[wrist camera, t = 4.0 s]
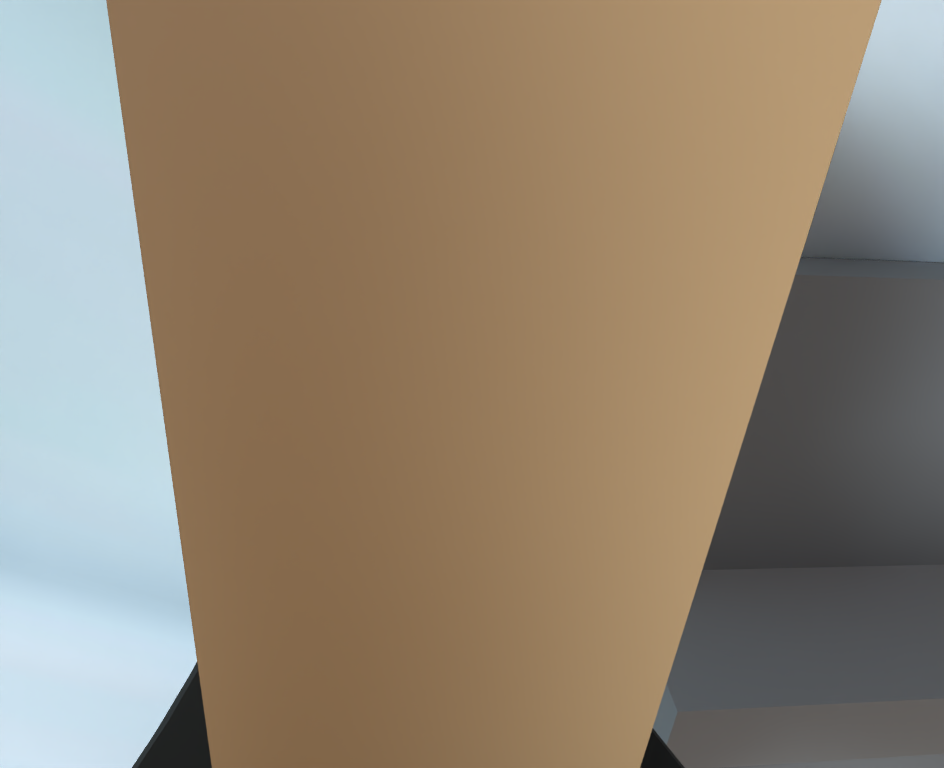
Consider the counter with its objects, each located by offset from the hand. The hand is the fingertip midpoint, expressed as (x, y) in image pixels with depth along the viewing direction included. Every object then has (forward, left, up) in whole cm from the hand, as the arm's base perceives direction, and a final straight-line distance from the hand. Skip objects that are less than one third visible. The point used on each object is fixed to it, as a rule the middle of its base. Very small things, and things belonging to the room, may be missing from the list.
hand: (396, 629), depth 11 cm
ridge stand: (-13, +6, -7) cm, 16 cm away
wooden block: (0, 0, -2) cm, 2 cm away
